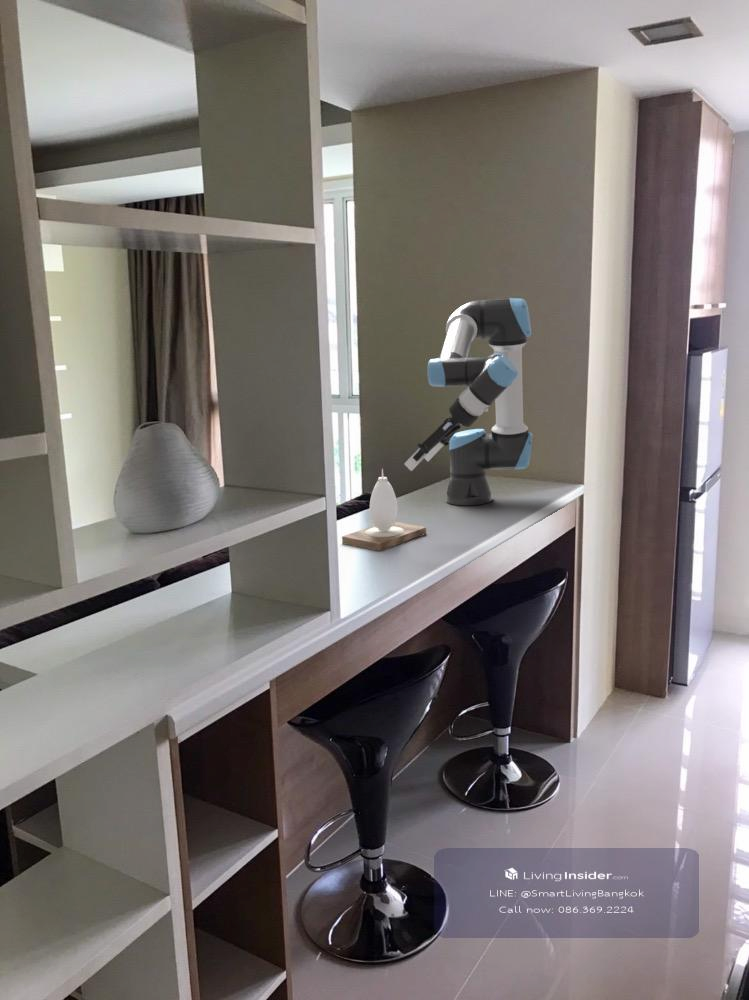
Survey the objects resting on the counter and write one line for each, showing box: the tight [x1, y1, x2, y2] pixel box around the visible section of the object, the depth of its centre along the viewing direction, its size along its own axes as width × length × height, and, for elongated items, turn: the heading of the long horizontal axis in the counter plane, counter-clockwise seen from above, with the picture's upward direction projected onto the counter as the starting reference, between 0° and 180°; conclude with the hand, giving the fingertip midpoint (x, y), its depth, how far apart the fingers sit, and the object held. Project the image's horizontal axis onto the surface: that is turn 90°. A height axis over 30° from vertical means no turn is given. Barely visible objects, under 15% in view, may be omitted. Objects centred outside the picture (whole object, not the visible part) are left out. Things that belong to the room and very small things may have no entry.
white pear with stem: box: [369, 467, 399, 532], centre depth 232 cm, size 8×8×18 cm
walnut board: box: [341, 521, 427, 552], centre depth 235 cm, size 20×14×2 cm
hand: (416, 462), depth 226 cm, fingers open, 13 cm apart
